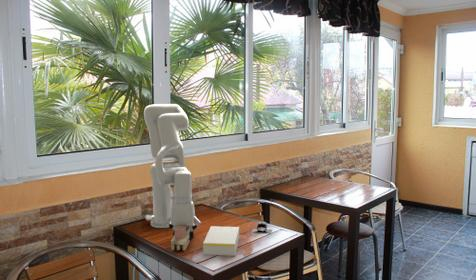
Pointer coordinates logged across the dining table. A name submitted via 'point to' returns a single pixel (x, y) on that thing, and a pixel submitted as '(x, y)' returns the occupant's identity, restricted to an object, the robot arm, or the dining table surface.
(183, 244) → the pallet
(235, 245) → the dock
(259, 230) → the black piece
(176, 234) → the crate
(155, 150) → the robot arm
